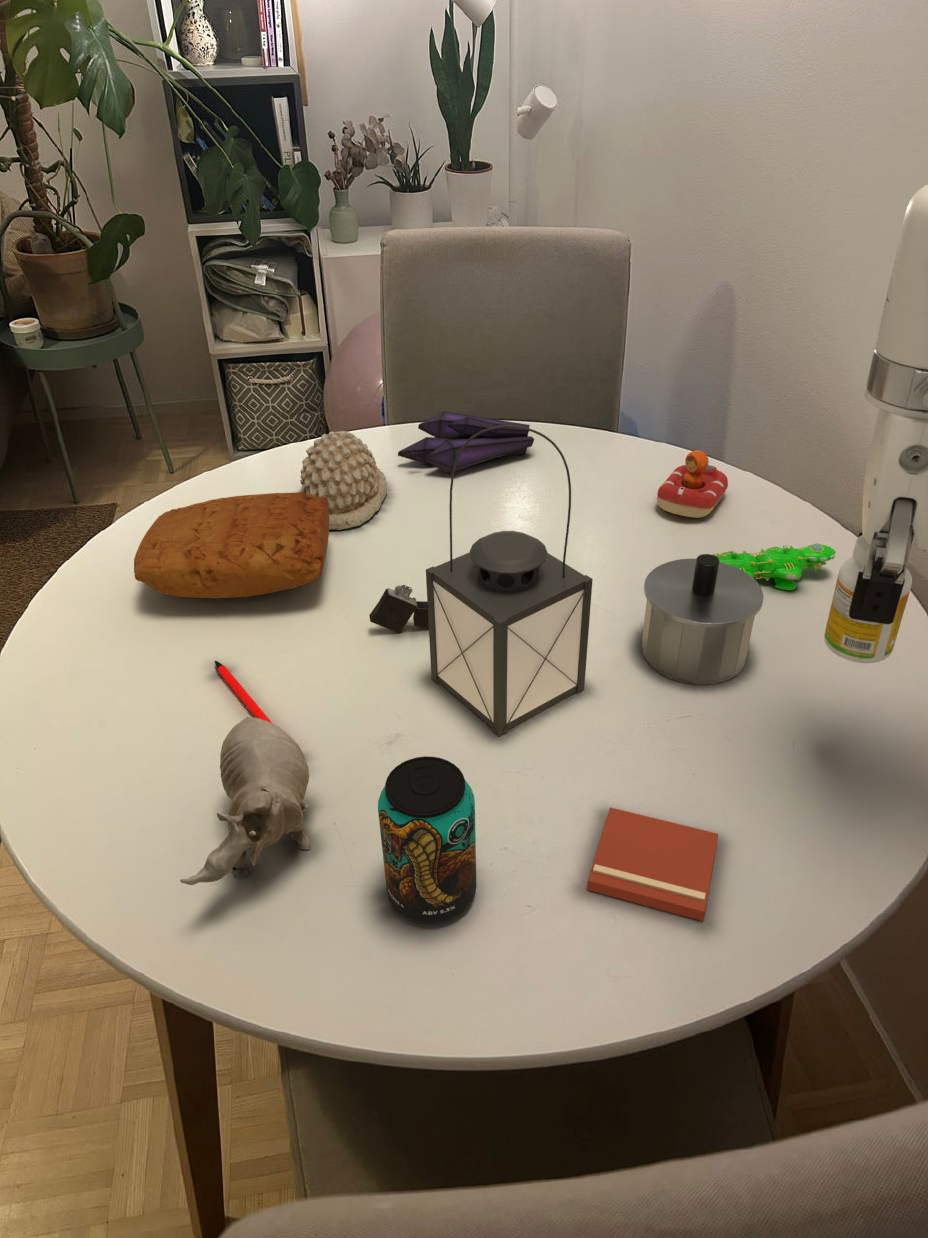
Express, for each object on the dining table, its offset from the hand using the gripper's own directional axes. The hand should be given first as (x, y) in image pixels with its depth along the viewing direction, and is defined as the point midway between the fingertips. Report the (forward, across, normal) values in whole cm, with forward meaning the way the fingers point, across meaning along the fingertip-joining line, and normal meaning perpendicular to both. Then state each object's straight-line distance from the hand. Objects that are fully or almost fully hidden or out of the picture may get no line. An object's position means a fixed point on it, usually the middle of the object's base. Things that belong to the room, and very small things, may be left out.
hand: (870, 596), depth 73 cm
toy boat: (+17, +44, +19) cm, 50 cm away
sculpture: (+16, +30, +64) cm, 72 cm away
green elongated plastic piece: (+17, +28, +9) cm, 34 cm away
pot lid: (+9, +11, +14) cm, 20 cm away
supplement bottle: (+5, 0, 0) cm, 5 cm away
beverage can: (+17, -25, +29) cm, 42 cm away
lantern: (+17, 0, +31) cm, 35 cm away
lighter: (+17, +6, +44) cm, 47 cm away
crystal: (+16, +47, +52) cm, 72 cm away
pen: (+16, -12, +53) cm, 56 cm away
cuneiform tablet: (+16, +10, +67) cm, 69 cm away
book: (+17, -17, +13) cm, 28 cm away
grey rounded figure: (+17, -25, +44) cm, 53 cm away
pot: (+17, +12, +14) cm, 25 cm away
